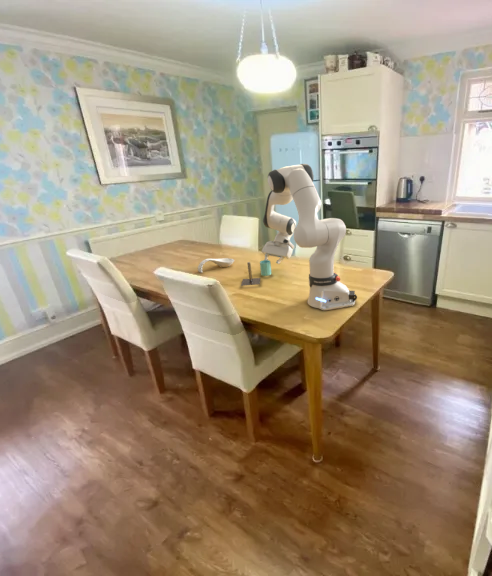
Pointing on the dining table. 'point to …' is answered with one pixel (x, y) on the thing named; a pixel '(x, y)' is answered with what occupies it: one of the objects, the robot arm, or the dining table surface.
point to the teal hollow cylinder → (265, 267)
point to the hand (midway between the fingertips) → (271, 262)
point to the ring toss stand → (250, 278)
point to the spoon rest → (217, 262)
